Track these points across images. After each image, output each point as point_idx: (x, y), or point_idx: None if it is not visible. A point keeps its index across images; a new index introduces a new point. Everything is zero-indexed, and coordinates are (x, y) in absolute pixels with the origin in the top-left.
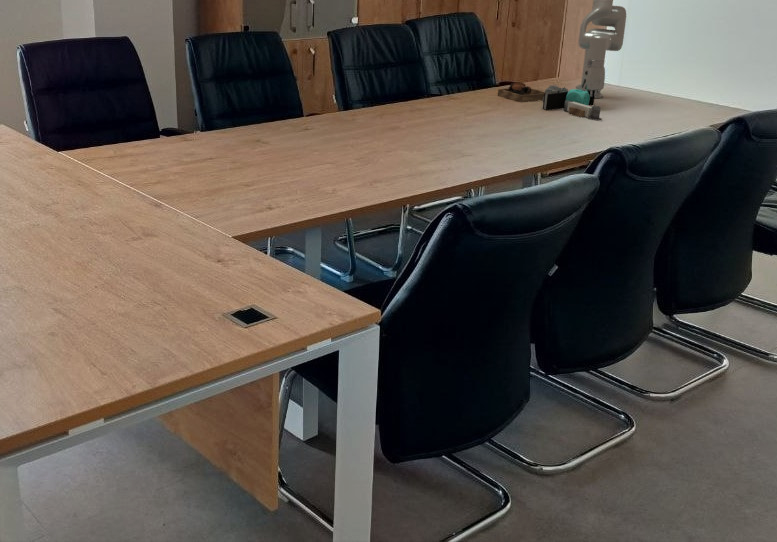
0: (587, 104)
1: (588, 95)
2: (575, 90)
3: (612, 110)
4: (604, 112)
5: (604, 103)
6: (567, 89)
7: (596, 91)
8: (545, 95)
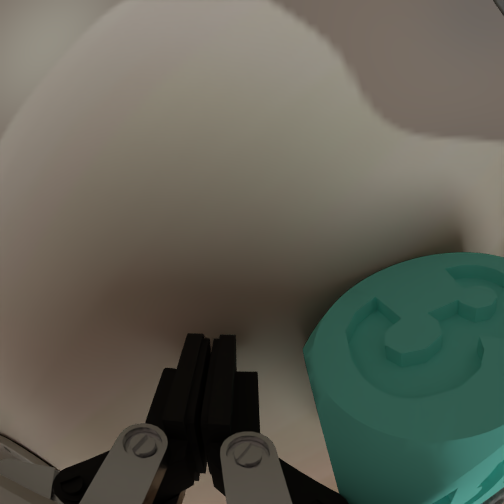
0: (351, 315)
1: (417, 410)
2: (492, 489)
3: (51, 140)
4: (240, 63)
5: (3, 377)
6: (489, 501)
7: (98, 490)
8: None
